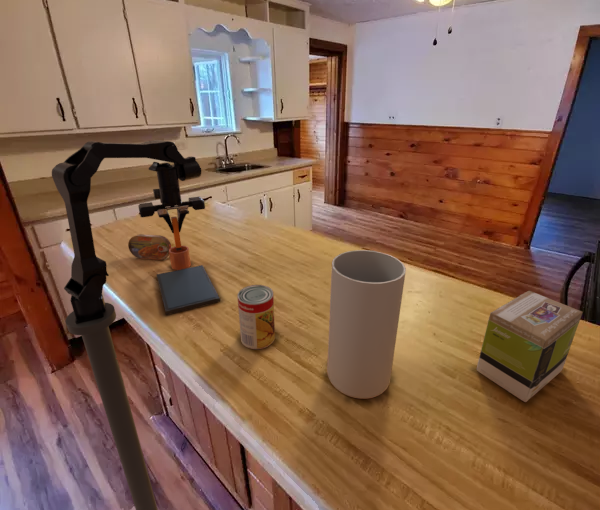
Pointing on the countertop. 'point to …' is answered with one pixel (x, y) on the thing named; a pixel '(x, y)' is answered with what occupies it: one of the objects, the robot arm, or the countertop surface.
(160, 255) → the tin
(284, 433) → the countertop surface
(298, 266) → the countertop surface
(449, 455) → the countertop surface
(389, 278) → the cylinder vase
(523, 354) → the tea box
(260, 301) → the canned food
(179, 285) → the tablet
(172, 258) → the pen cup
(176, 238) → the stylus
